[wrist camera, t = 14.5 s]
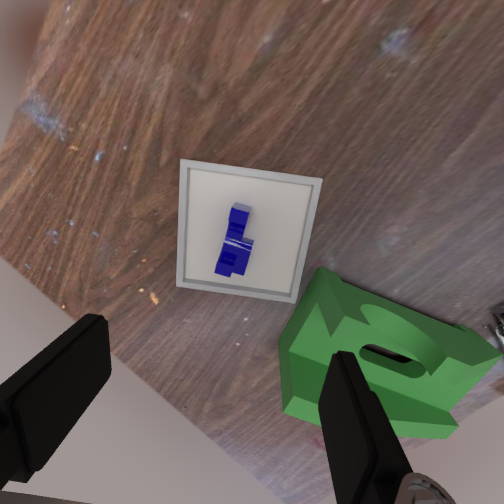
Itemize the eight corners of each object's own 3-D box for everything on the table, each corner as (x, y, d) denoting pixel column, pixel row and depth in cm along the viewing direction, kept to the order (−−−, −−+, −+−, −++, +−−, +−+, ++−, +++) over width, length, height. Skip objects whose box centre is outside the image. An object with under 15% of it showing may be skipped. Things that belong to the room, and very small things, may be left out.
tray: (318, 177, 30) (322, 178, 28) (293, 295, 35) (295, 303, 33) (186, 159, 30) (180, 158, 28) (181, 279, 35) (176, 286, 33)
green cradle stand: (278, 339, 38) (282, 412, 27) (318, 265, 34) (344, 315, 23) (415, 392, 40) (473, 481, 29) (470, 327, 36) (564, 403, 25)
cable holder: (245, 268, 33) (242, 281, 30) (219, 260, 33) (213, 273, 29) (263, 210, 31) (262, 216, 27) (235, 201, 30) (231, 207, 27)
